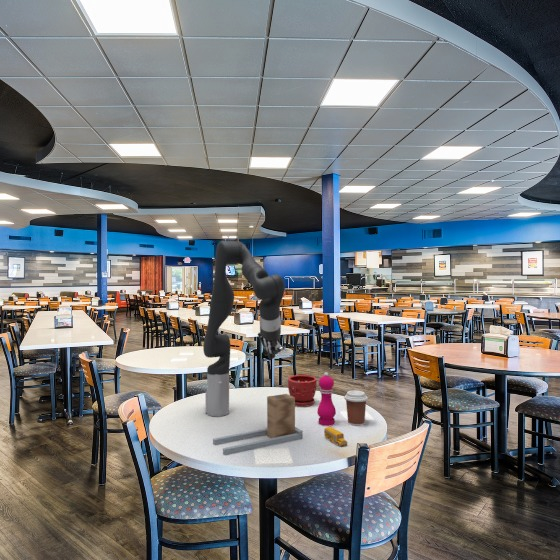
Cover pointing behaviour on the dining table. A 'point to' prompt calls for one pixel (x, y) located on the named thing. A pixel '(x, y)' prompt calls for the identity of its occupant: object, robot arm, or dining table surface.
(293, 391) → the plant pot
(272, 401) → the walnut block
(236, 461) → the dining table surface
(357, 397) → the coffee cup
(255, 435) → the trap channel
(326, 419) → the pepper mill
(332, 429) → the toy bus
